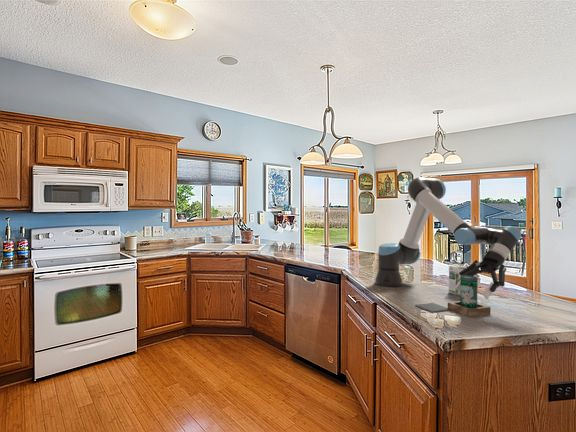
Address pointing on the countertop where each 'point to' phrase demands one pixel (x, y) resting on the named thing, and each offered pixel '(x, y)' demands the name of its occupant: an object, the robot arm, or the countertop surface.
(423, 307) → the mat
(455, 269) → the syrup box
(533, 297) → the countertop surface
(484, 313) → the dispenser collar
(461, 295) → the can
